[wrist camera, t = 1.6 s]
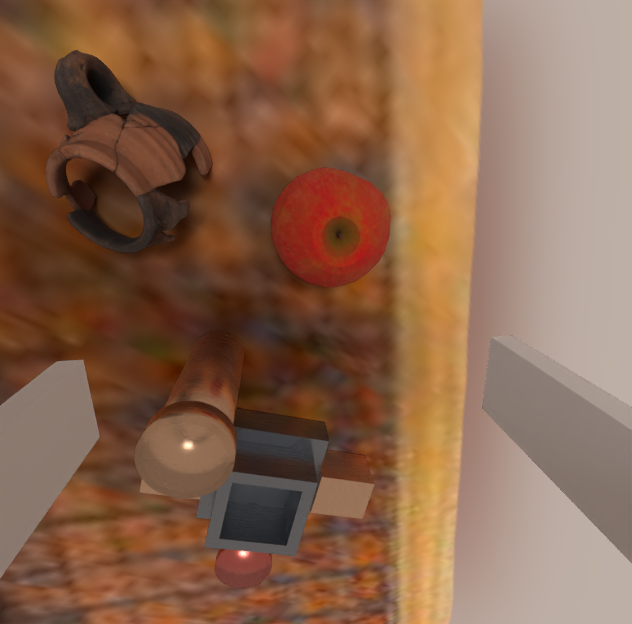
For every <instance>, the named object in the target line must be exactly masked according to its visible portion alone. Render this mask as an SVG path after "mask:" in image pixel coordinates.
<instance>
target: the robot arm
mask: <svg viewBox="0 0 632 624" xmlns="http://www.w3.org/2000/svg"><path fill="white" fill-rule="evenodd" d="M482 409H483V410H484V411H485V412H486V413H487V414H488V415H489V416H490V417H491V418H492V419H493V420H494V421H495V422H496V423H497V424H498V425H499V426H500V427H501V428H502V429H503V430H504V432H506V434H507V435H508V436H509V437H510V438H511V439H512V440H513V441H514V442H515V443H516V444H517V445H518V446H519V447H520V448H521V449H522V450H523V451H524V452H525V453H526V454H527V455H528V456H529V457H530V458H531V459H532V461H533V462H534V463H535V464H536V465H537V466H538V467H539V468H540V469H541V470H542V471H543V472H544V473H545V474H546V475H547V476H548V477H549V478H550V479H551V480H552V481H553V482H554V483H555V484H556V485H557V486H558V487H559V488H560V490H562V492H563V493H564V494H565V495H566V496H567V497H568V498H569V499H570V500H571V501H572V502H573V503H574V504H575V505H576V506H577V507H578V508H579V509H580V510H581V511H582V512H583V513H584V514H585V515H586V516H587V517H588V519H589V520H590V521H591V522H592V523H593V524H594V525H595V526H596V527H597V528H598V529H599V530H600V531H601V532H602V533H603V534H604V535H605V536H606V537H607V538H608V539H609V540H610V541H611V542H612V543H613V544H614V545H615V546H616V547H617V549H618V550H620V552H621V553H622V554H623V555H624V556H625V557H626V558H627V559H628V560H629V561H630V562H631V563H632V407H631V406H629V405H628V404H626V403H624V402H623V401H621V400H619V399H618V398H616V397H614V396H613V395H611V394H609V393H608V392H606V391H604V390H603V389H601V388H599V387H598V386H596V385H594V384H593V383H591V382H589V381H588V380H586V379H584V378H583V377H581V376H579V375H578V374H576V373H574V372H573V371H571V370H569V369H568V368H566V367H564V366H563V365H561V364H559V363H558V362H556V361H554V360H553V359H551V358H549V357H548V356H546V355H544V354H543V353H541V352H539V351H538V350H536V349H534V348H533V347H531V346H529V345H528V344H526V343H524V342H523V341H521V340H519V339H518V338H516V337H514V336H512V335H511V336H494V337H491V341H490V349H489V358H488V365H487V373H486V381H485V389H484V397H483V405H482ZM99 437H100V436H99V431H98V426H97V422H96V417H95V412H94V408H93V403H92V399H91V394H90V389H89V385H88V380H87V375H86V371H85V366H84V361H83V360H70V361H56V362H55V363H54V364H52V365H51V366H50V367H49V368H47V369H46V370H45V371H44V372H42V373H41V374H40V375H38V376H37V377H36V378H35V379H33V380H32V381H31V382H30V383H28V384H27V385H26V386H24V387H23V388H22V389H21V390H19V391H18V392H17V393H16V394H14V395H13V396H12V397H10V398H9V399H8V400H7V401H5V402H4V403H3V404H2V405H0V578H1V576H2V575H3V574H4V572H5V571H6V569H7V568H8V567H9V565H10V564H11V562H12V561H13V559H14V558H15V557H16V555H17V554H18V552H19V551H20V549H21V548H22V547H23V545H24V544H25V542H26V541H27V540H28V538H29V537H30V535H31V534H32V532H33V531H34V530H35V528H36V527H37V525H38V524H39V523H40V521H41V520H42V518H43V517H44V515H45V514H46V513H47V511H48V510H49V508H50V507H51V506H52V504H53V503H54V501H55V500H56V498H57V497H58V496H59V494H60V493H61V491H62V490H63V488H64V487H65V486H66V484H67V483H68V481H69V480H70V479H71V477H72V476H73V474H74V473H75V471H76V470H77V469H78V467H79V466H80V464H81V463H82V462H83V460H84V459H85V457H86V456H87V454H88V453H89V452H90V450H91V449H92V447H93V446H94V444H95V443H96V442H97V440H98V439H99Z"/></svg>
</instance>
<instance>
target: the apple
mask: <svg viewBox="0 0 632 624" xmlns="http://www.w3.org/2000/svg"><path fill="white" fill-rule="evenodd" d="M390 217H391V216H390V210H389V205H388V203H387V201H386V199H385V197H384V196H383V194H382V193H381V192H380V191H379V190H378V189H377V188H376V187H375V186H373V185H372V184H371V183H370V182H369V181H366V180H364V179H362V178H359V177H357V176H355V175H353V174H350V173H348V172H344V171H340V170H336V169H331V168H327V167H326V168H318V169H313V170H311V171H309V172H307V173H304V174H302V175H300V176H297V177H296V178H295V179H294V180H293V181H292V182H291V183H290V184H289V185H287V186H286V187H285V188H284V190H283V191H282V193H281V194H280V195H279V197H278V199H277V201H276V204H275V206H274V209H273V214H272V219H271V234H272V239H273V243H274V246H275V248H276V250H277V252H278V255H279V256H280V258H281V260H282V261H283V263H284V264H285V265H286V266H287V267H288V269H289V270H290V271H291V272H292V273H293V274H295V275H296V276H298V277H299V278H301V279H303V280H304V281H306V282H308V283H310V284H314V285H318V286H322V287H338V286H343V285H345V284H348V283H351V282H354V281H356V280H358V279H359V278H360V277H362V276H363V275H365V274H366V273H368V272H369V271H370V270H371V269H372V268H373V267H374V266H375V265H376V264H377V263H378V262H379V260H380V259H381V257H382V255H383V253H384V252H385V249H386V245H387V242H388V239H389V235H390Z"/></svg>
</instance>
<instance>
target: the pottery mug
mask: <svg viewBox="0 0 632 624" xmlns="http://www.w3.org/2000/svg"><path fill="white" fill-rule="evenodd" d="M54 78H55V84H56V87H57V90H58V93H59V95H60V97H61V99H62V100H63V102H64V105H65V107H66V110H67V113H68V124H67V126H68V128H69V129H70V130H72V131H76V132H75V133H73V134H72V138H71V137H70V136H68V135H65V136H64V137H63V139H62V142H61V144H60V146H59V147H58V148H57V149H56V150H55V151H53V152H52V154H51V155H50V157H49V158H48V160H47V163H46V172H45V174H46V182H47V185H48V189H49V191H50V193H51V195H52V197H56V198H60V197H62V196H63V195H65V196H66V198H67V200H68V202H69V203H70V204H71V205H72V207H73V208H74V209H75V210H76V211H74V212H71V213H68V215H67V217H68V221H69V223H70V224H71V225H72V226H73V227H74V228H75V229H76V230H78V231H79V232H80V233H81V234H83V235H84V236H85V237H87V238H88V239H89V240H91V241H93V242H94V243H96V244H98V245H100V246H102V247H105V248H107V249H112V250H114V251H118V252H121V253H124V252H125V253H134V252H138V251H141V250H143V249H144V248H146V247H151V246H156V245H161V244H165V243H168V242H170V241H173V240H175V236H173V235H167V234H166V233H164V232H162V231H167V230H170V229H171V228H173V227H175V226H176V225H177V224H178V222H179V221H180V220H181V219H183V218H185V217H186V216H187V215H188V211H189V201H188V200H179V201H176V200H175V199H173V198H170V197H168V196H166V195H164V194H163V193H162V192H160V191H158V190H157V189H156V188H158V187H161V186H164V185H166V184H170V183H173V182H176V181H180V180H182V178H183V176H184V175H185V171H186V167H185V164H184V162H183V159H185V158H186V157H187V155H188V154H189V152H190V151H191V153H192V155H193V157H194V159H195V162H196V164H197V167H198V170H199V173H200V175H202V176H203V175H206V174H208V172H209V170H210V168H211V167H212V160H211V156H210V153H209V150H208V148H207V146H206V144H205V142H204V141H203V139H202V138H201V136H200V134H199V133H198V132H197V130H196V129H195V128H194V127H193V126H192V125H191V124H190V123H189V122H188V121H186V120H185V119H184V118H182V117H181V116H179V115H178V114H176V113H174V112H172V111H169V110H165V109H161V108H156V107H152V106H149V105H145V104H143V103H137V102H136V101H135V99H133V98H132V97H131V96H130V95H129V94H128V93H127V92H126V91H125V90H124V88H123V87H122V86H121V85H120V83H119V81H118V80H117V78H116V77H115V76H114V74H113V73H112V72H111V70H110V69H109V68H108V67H107V66H106V65H105V64H104V63H103V62H102V61H101V60H99V59H98V58H96V57H94V56H92V55H89V54H85V53H81V52H79V51H77V50H74V51H72V52H70V53H69V54H68V55H66V56H65V57H64V58H61V59H60V60H59V61H58V63H57V65H56V69H55V76H54ZM122 115H128V117H127V118H126V120H124V119H122V118H121V117H120V116H122ZM73 158H84V159H87V160H91V161H94V162H96V163H98V164H100V165H102V166H104V167H106V168H107V169H109V170H110V171H112V172H114V173H115V174H116V175H117V176H118V177H119V178H120V179H121V180H122V181H123V182H124V183H125V184H126V185H127V186H128V188H129V189H130V190H131V191H132V193H133V194H134V195H135V196H136V197H137V199H138V202H139V205H140V207H141V210H142V213H143V217H144V228H143V232H142V234H141V235H140V236H139V237H137V238H129V237H126V236H124V235H121V234H119V233H117V232H115V231H113V230H111V229H110V228H109V227H108V226H106V225H105V224H104V223H103V222H102V221H101V219H100V218H99V217H98V216H97V215H96V213H95V212H94V211H93V210H92V206H93V205H94V201H95V198H96V196H95V194H94V192H93V191H92V190H91V189H90V188H89V187H88V186H87V185H86V184H85V183H84V182H83V181H82V180H76V181H74V182H73V183H72V185H71V186H70V185H69V182H68V179H67V175H66V164H67V162H68V161H69V160H71V159H73Z"/></svg>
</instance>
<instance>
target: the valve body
mask: <svg viewBox="0 0 632 624" xmlns="http://www.w3.org/2000/svg"><path fill="white" fill-rule="evenodd" d="M233 425H234V427H235V430H236V433H237V447H236V455H235V462H234V467H233V470H232V473H231V475H230V476H229V478H228V479H227V481H226V482H225V483H224V484H223V485H222V486H221V487H219V488H218V489H216V490H215V491H213V492H211V493H209V494H207V495H204V496H201V497H196V498H191V499H200V501H199V506H198V511H197V516H196V518H205V519H210V520H209V526H208V531H207V536H206V542H205V547H208V548H219V549H220V550H219V552H218V554H217V557H216V563H215V573H216V576H217V577H218V579H219V580H220V581H221V582H222V583H224V584H225V585H227V586H230V587H234V588H249V587H252V586H255V585H257V584H259V583H261V582H262V581H264V580H265V579H266V578H267V576H268V575H269V573H270V571H271V564H272V556H271V554H280V555H290V556H296V552H297V549H298V546H299V543H300V539H301V536H302V533H303V530H304V526H305V523H306V520H307V516H308V513H309V510H311V513H317V514H326V515H334V516H343V517H351V518H360V519H362V518H363V516H364V513H365V510H366V507H367V504H368V502H369V499H370V496H371V493H372V490H373V487H374V485H375V484H374V481H373V478H372V475H371V472H370V469H369V466H368V464H367V461H366V458H365V455H358V454H352V453H345V452H338V451H332V450H327V446H328V443H329V439H328V435H327V431H326V426H325V422H320V421H314V420H308V419H302V418H296V417H289V416H283V415H277V414H271V413H265V412H259V411H253V410H246V409H240V408H236V410H235V417H234V423H233ZM140 492H141V493H149V494H158V495H164V494H161V493H159V492H157V491H155V490H154V489H152V488H151V487H149V486H148V485H147V484H146V483H145V482H144V481H143V479H142V481H141V487H140Z"/></svg>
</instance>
